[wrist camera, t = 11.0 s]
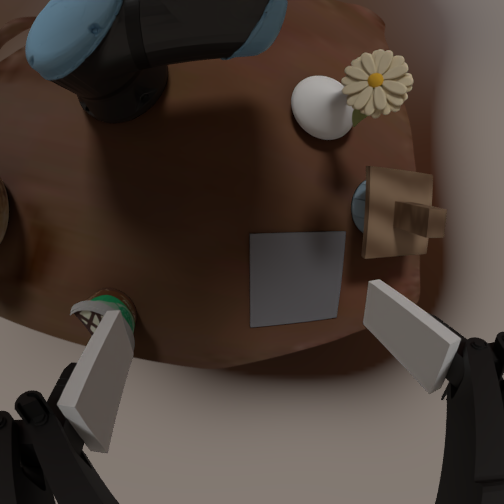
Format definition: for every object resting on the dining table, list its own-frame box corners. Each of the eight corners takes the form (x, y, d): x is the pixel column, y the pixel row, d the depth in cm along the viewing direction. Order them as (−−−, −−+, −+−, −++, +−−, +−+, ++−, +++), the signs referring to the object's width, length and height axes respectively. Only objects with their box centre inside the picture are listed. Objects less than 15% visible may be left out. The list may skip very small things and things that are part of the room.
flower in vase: (311, 67, 38) (397, -2, 14) (360, 109, 41) (467, 79, 17) (268, 118, 39) (341, 60, 16) (322, 161, 43) (432, 158, 19)
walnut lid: (366, 166, 37) (404, 166, 28) (428, 174, 39) (466, 178, 30) (361, 256, 41) (395, 276, 32) (422, 251, 43) (456, 267, 34)
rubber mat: (249, 233, 44) (250, 234, 44) (344, 231, 47) (345, 231, 46) (250, 326, 49) (250, 327, 48) (335, 316, 51) (336, 317, 51)
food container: (157, 321, 46) (148, 354, 36) (134, 336, 46) (122, 370, 36) (112, 267, 42) (91, 291, 32) (90, 286, 42) (67, 311, 32)
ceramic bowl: (352, 175, 44) (374, 176, 37) (399, 179, 46) (423, 182, 39) (349, 236, 47) (369, 246, 40) (395, 235, 49) (417, 244, 42)
